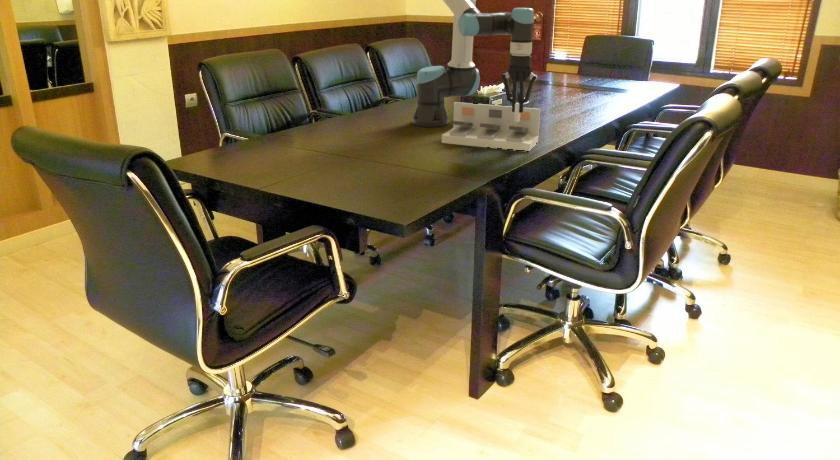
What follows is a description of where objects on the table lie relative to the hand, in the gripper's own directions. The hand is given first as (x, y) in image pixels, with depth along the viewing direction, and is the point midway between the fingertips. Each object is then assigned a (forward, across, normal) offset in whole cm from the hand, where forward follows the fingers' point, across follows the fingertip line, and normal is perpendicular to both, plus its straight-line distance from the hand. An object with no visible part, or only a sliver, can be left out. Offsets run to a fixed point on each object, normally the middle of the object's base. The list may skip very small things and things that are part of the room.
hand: (517, 121), depth 233 cm
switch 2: (+4, -11, +4) cm, 12 cm away
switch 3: (+4, 0, +4) cm, 5 cm away
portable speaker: (+10, -25, +62) cm, 67 cm away
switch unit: (+10, -11, +4) cm, 16 cm away
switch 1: (+4, -22, +4) cm, 23 cm away
